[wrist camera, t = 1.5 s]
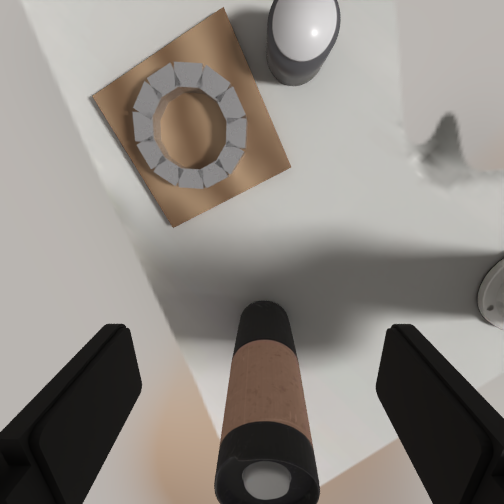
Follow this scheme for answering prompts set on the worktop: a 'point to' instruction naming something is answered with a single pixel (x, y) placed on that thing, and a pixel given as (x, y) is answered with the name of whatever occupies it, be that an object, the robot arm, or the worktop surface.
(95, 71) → the worktop surface
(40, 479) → the robot arm
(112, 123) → the board
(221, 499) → the travel mug
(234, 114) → the grey segmented ring
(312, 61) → the cap
